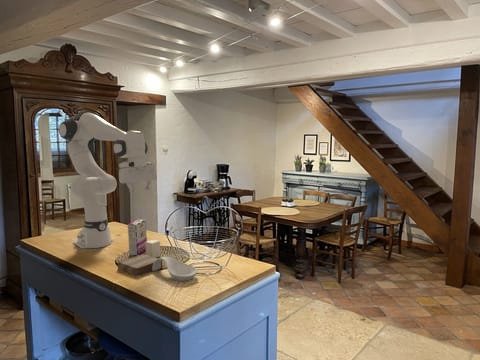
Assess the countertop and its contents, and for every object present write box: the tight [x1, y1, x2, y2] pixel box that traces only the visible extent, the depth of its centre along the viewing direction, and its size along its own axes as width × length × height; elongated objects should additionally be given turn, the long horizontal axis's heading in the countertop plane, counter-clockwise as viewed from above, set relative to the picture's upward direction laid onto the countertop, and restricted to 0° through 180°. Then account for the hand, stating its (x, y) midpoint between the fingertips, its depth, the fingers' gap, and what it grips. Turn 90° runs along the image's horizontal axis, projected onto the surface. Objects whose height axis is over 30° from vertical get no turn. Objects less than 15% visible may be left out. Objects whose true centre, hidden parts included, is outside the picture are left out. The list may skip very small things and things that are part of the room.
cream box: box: [145, 239, 161, 258], centre depth 181 cm, size 5×5×8 cm
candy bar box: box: [127, 218, 148, 256], centre depth 187 cm, size 11×5×16 cm, turn 168°
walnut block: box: [117, 253, 163, 277], centre depth 165 cm, size 14×14×4 cm
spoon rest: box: [151, 256, 198, 282], centre depth 156 cm, size 24×12×7 cm, turn 55°
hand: (139, 191), depth 179 cm, fingers open, 8 cm apart
